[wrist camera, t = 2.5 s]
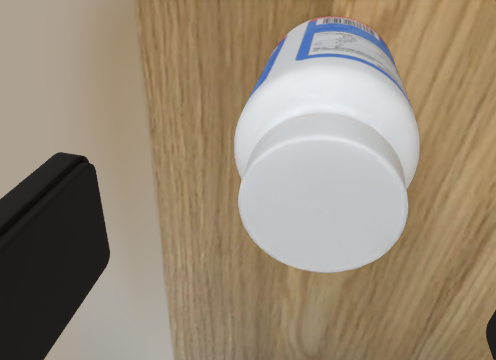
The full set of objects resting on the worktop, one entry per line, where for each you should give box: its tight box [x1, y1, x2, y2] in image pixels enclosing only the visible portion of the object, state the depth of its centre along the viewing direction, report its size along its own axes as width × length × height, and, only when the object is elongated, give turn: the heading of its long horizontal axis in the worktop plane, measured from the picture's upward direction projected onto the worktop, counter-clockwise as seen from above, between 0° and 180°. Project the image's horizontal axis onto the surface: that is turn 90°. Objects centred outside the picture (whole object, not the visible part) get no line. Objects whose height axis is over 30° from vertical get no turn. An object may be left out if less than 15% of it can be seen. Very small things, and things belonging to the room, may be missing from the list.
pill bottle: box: [234, 16, 420, 273], centre depth 14 cm, size 6×5×10 cm
